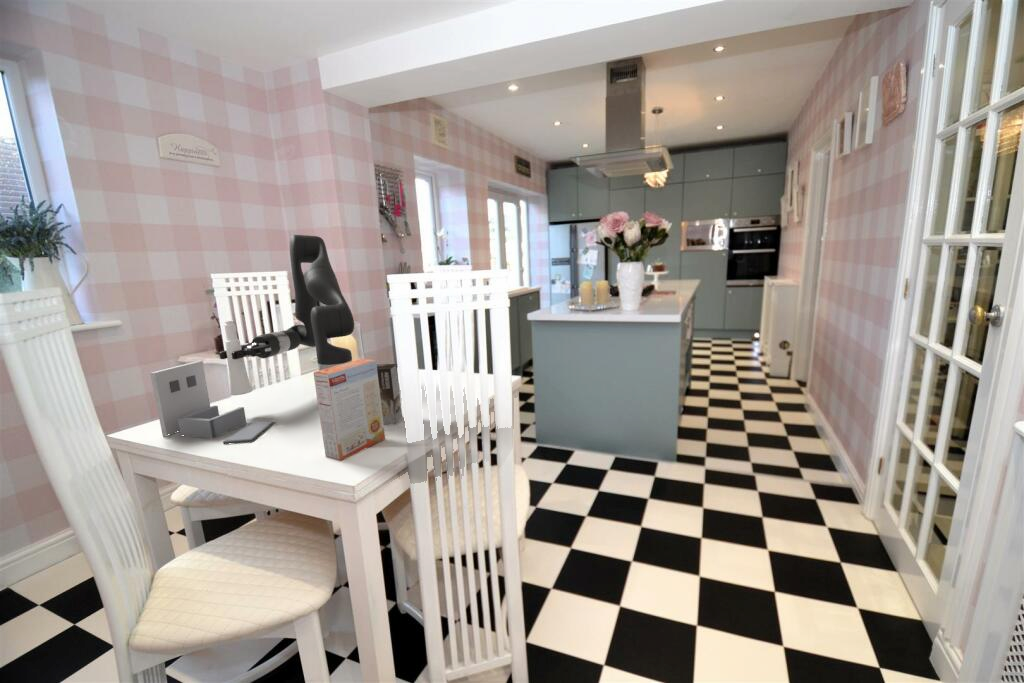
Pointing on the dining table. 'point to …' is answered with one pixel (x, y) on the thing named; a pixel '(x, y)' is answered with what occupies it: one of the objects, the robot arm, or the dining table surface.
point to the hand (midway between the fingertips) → (227, 355)
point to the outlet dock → (190, 403)
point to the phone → (249, 432)
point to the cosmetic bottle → (236, 362)
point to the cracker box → (349, 407)
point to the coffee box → (389, 393)
